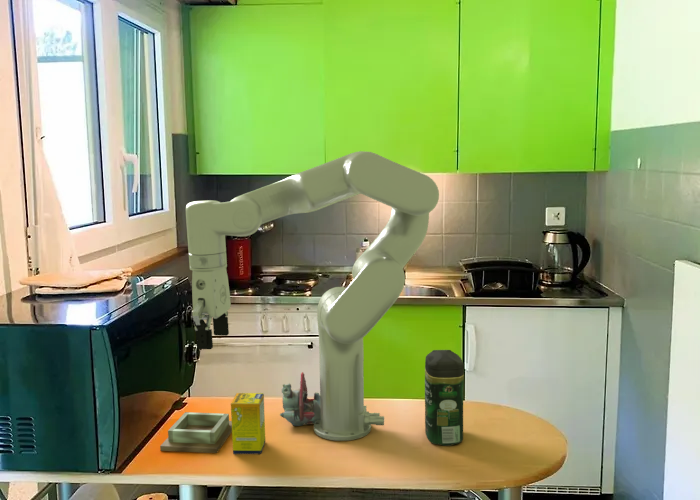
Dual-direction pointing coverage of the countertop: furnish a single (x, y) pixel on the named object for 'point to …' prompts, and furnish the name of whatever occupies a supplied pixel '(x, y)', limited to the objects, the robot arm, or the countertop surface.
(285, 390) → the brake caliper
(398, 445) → the countertop surface
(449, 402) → the coffee jar
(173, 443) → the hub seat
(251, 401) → the supplement box
